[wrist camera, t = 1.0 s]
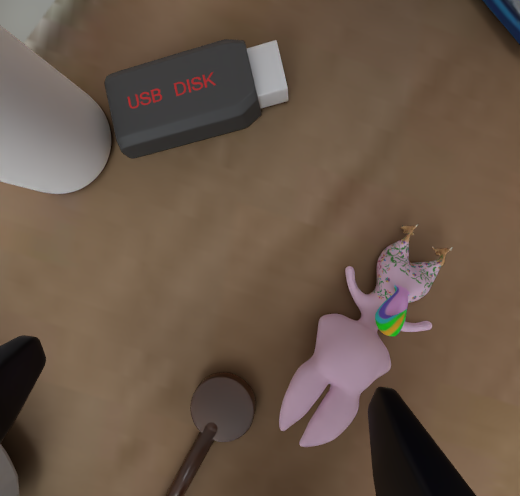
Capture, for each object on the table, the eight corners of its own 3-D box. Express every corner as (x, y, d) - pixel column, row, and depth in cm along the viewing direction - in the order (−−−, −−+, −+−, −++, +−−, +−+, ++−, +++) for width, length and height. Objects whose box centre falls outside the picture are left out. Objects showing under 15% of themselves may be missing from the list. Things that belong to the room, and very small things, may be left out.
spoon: (164, 577, 23) (158, 593, 22) (113, 542, 24) (104, 556, 22) (267, 392, 23) (265, 399, 21) (212, 360, 23) (208, 365, 22)
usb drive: (116, 91, 24) (93, 70, 21) (274, 45, 23) (272, 16, 20) (131, 159, 24) (110, 147, 21) (291, 115, 23) (291, 97, 20)
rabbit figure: (374, 218, 23) (250, 396, 22) (412, 191, 17) (245, 434, 16) (450, 269, 23) (328, 457, 21) (516, 260, 17) (353, 520, 15)
